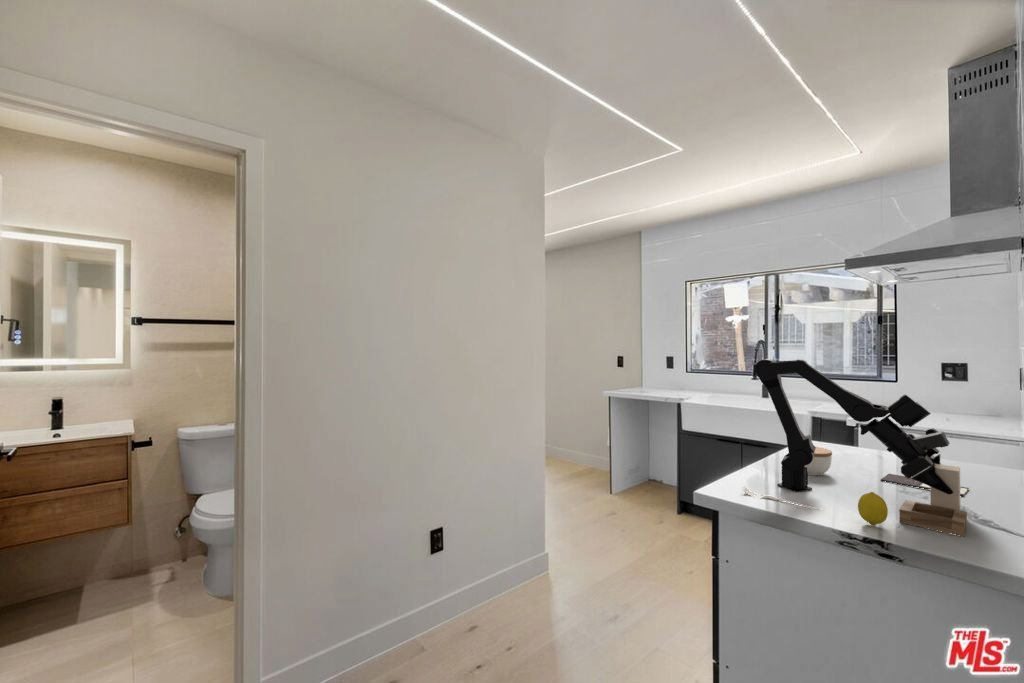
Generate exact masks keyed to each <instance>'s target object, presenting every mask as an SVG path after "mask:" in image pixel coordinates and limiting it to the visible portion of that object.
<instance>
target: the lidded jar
mask: <svg viewBox="0 0 1024 683" xmlns="http://www.w3.org/2000/svg"><path fill="white" fill-rule="evenodd" d="M815 447H816V449H815V452H814V457H813V460H812V462H811V463H810V464H808V465H805V466H804V467H807V472H808V474H809V475H808V476H813V475H818V476H817V477H819V475H822V476H824V475H825V473H827V472H828V471H829V470H830V468H831V465H832V460H833V459H832V458H833V456H832V455H833V451H832V450H830V449H829V448H824V447H819V446H815ZM823 474H824V475H823Z"/></svg>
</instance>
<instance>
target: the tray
mask: <svg viewBox="0 0 1024 683" xmlns="http://www.w3.org/2000/svg"><path fill="white" fill-rule="evenodd" d="M899 523H900V524H904V525H908V524H909V526H913V525H914V527H917V526H919V527H918V528H921V527H924V528H923V529H926V528H929V529H928V530H930V529H933V530H932V531H935V530H938V531H937V532H939V531H942V532H941V533H944V532H946V533H945V534H948V533H952V534H956V535H955V536H957V535H960V536H959V537H961V536H963V537H962V538H965V536H966V531H967V527H968V512H967V511H964V510H961V509H960V510H955V509H950V508H945V507H940V506H935V505H931V503H930V504H929V503H923V502H918V501H913V500H909V499H904V501H903V502H902V504H901V506H900V508H899ZM952 534H951V535H952Z"/></svg>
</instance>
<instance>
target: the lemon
mask: <svg viewBox="0 0 1024 683" xmlns="http://www.w3.org/2000/svg"><path fill="white" fill-rule="evenodd" d="M888 509H889V508H888V504H887V503H886V501H885V500H884V498H883V497H882V496H880V495H878V494H877V493H875V492H873V491H870V492H868V493H863V494H862V495H861V496H860V498H859V499H858V501H857V510H858V513H859V515H860V517H861V518H862V520H864V521H865V522H866V523H869V524H870V525H871V526H873V527H875V526H876V525H878V524H882V523H884V522H885V521H886V520H887V518H888V514H889V513H888V512H889V510H888Z"/></svg>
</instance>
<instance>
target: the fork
mask: <svg viewBox="0 0 1024 683" xmlns="http://www.w3.org/2000/svg"><path fill="white" fill-rule="evenodd" d="M740 489H741V490H742V491H743V492H744V493H745V494H746V495H748V496H749V497H752V496H753V497H752V498H757V497H756V496H757V495H758V494H759V493H756V492H754V491H752V490H750V489H749V488H747V487H746V486H742V487H741V488H740ZM756 494H757V495H756ZM762 495H763V496H761V498H760V499H763V498H764V499H769V500H773V499H775V500H774V501H777V500H780V501H779V502H781V501H786V502H790V503H794V504H798V505H802V506H801V507H803V506H805V507H804V508H807V507H809V508H808V509H812V508H814V509H813V510H817V509H819V510H818V511H821V508H819V507H816V506H815V507H814V506H811V505H808V504H807V505H806V504H803V503H799V502H796V501H792V500H789V499H786V498H785V499H784V498H781V497H777V496H773V495H769V494H762ZM794 504H793V505H794ZM798 505H797V506H798Z"/></svg>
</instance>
